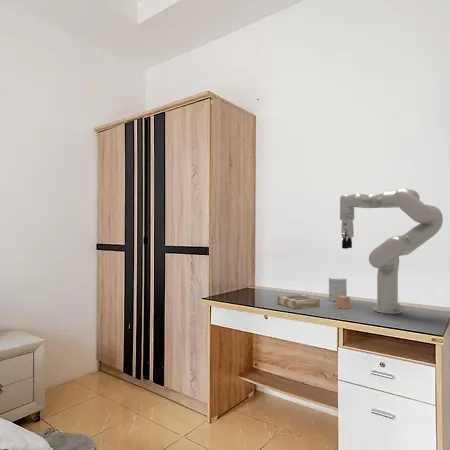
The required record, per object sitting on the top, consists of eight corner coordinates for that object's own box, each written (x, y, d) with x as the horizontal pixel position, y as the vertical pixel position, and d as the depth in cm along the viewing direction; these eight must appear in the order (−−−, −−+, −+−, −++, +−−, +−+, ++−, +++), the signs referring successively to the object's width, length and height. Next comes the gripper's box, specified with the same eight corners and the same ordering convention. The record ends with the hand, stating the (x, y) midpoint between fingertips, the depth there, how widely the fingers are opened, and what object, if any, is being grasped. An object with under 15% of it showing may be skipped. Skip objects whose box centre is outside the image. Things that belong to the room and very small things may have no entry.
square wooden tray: (319, 306, 195) (319, 298, 195) (296, 309, 187) (296, 300, 187) (299, 301, 209) (299, 293, 209) (277, 303, 201) (277, 296, 201)
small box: (346, 301, 210) (346, 278, 211) (340, 302, 206) (340, 279, 206) (334, 299, 217) (334, 277, 217) (328, 300, 212) (328, 278, 213)
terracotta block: (350, 308, 190) (350, 296, 190) (343, 309, 188) (343, 297, 188) (342, 306, 194) (342, 295, 195) (336, 307, 192) (336, 296, 192)
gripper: (351, 216, 191) (351, 249, 191) (357, 217, 206) (357, 247, 206) (336, 216, 195) (336, 248, 195) (343, 217, 210) (343, 247, 210)
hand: (347, 248), depth 200 cm, fingers open, 9 cm apart
